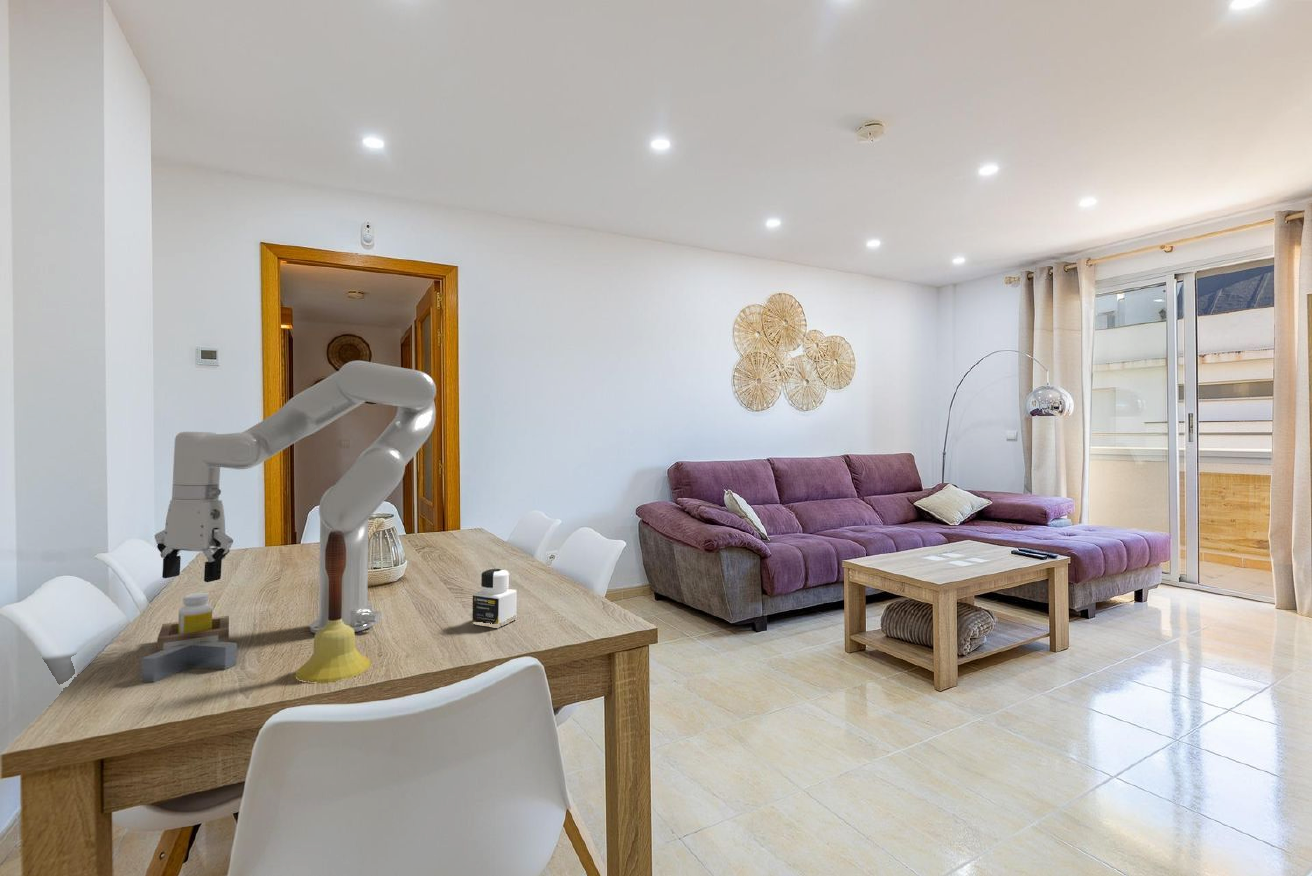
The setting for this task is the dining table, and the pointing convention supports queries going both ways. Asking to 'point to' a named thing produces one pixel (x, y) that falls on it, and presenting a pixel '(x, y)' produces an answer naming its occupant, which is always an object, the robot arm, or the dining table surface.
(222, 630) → the sleeve block
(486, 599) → the medicine bottle
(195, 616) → the supplement bottle
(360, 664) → the handbell
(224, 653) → the v block
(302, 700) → the dining table surface
